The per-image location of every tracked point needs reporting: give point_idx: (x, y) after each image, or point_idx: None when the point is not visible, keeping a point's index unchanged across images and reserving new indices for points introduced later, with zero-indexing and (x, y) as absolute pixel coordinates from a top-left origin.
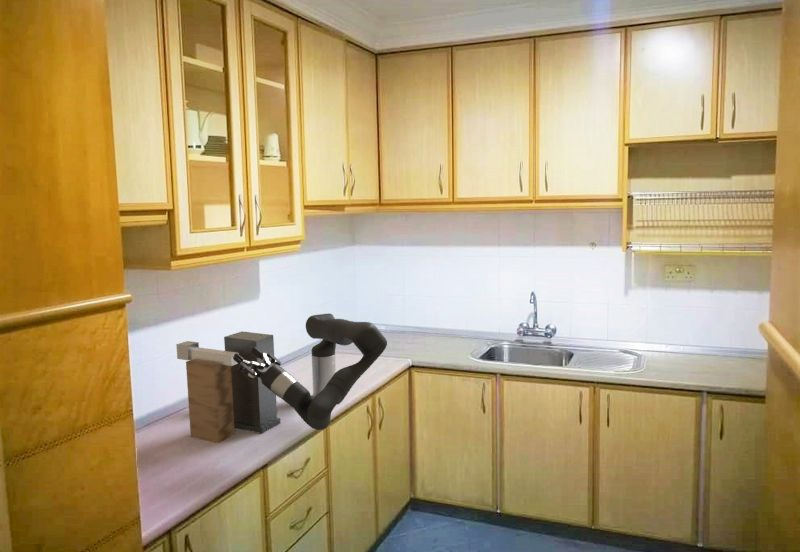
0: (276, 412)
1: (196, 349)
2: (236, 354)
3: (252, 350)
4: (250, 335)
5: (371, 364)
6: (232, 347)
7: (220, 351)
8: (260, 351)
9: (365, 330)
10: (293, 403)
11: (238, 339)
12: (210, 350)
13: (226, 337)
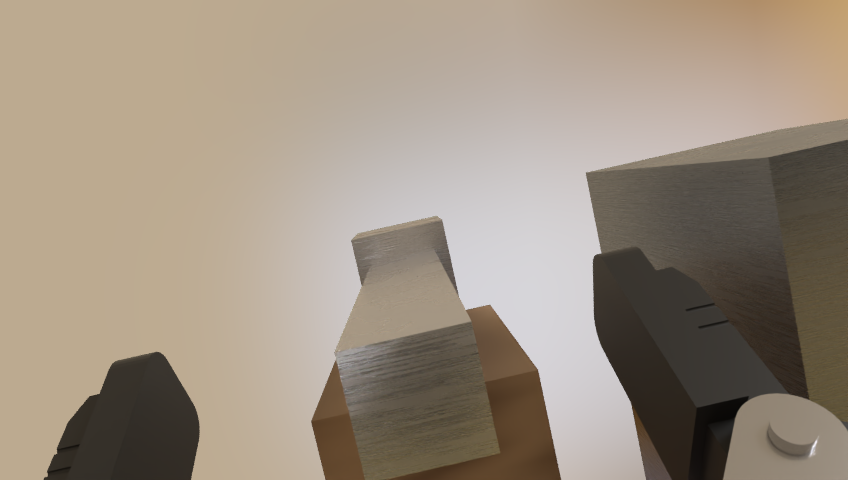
0: None
1: (390, 264)
2: (107, 381)
3: (600, 308)
4: (798, 133)
5: None
6: None
7: (419, 288)
8: (701, 351)
9: None
10: None
11: (640, 177)
12: (409, 275)
13: (593, 175)
